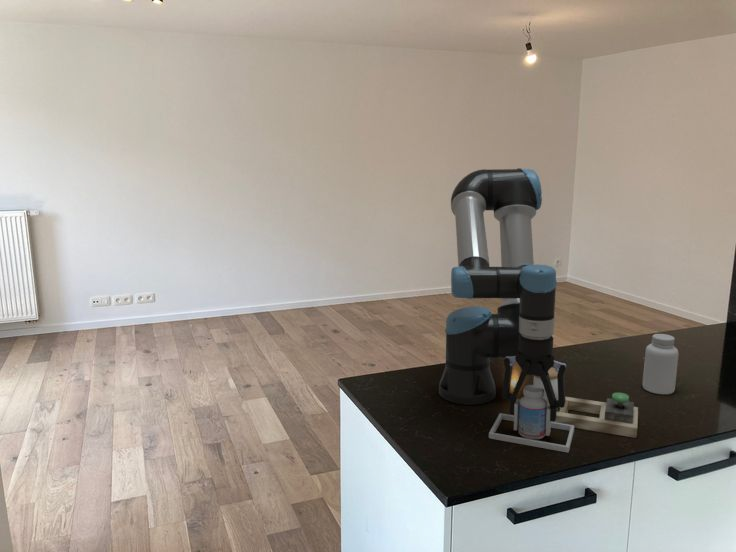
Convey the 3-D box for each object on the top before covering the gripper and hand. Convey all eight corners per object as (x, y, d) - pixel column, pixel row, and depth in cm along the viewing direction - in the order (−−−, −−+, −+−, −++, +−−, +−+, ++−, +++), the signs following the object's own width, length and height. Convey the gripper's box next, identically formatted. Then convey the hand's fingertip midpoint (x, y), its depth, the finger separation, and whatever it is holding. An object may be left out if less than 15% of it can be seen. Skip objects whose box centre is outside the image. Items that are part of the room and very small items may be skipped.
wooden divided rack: (520, 418, 144) (520, 401, 143) (528, 399, 155) (529, 384, 154) (636, 438, 134) (638, 420, 133) (637, 416, 144) (638, 399, 143)
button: (611, 408, 139) (612, 397, 138) (612, 402, 142) (612, 391, 142) (627, 410, 137) (628, 399, 137) (628, 404, 141) (629, 393, 140)
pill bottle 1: (546, 441, 133) (548, 394, 131) (518, 439, 134) (520, 393, 132) (544, 429, 139) (546, 384, 137) (517, 427, 140) (519, 382, 138)
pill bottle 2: (677, 396, 155) (682, 342, 152) (643, 393, 158) (648, 339, 155) (672, 385, 162) (677, 333, 159) (640, 382, 165) (644, 330, 162)
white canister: (530, 415, 146) (531, 373, 144) (534, 405, 152) (536, 365, 149) (555, 419, 144) (558, 376, 141) (559, 409, 149) (561, 368, 147)
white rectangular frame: (488, 438, 135) (488, 433, 135) (499, 417, 145) (499, 413, 145) (568, 452, 128) (568, 447, 128) (574, 430, 138) (574, 425, 138)
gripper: (488, 334, 132) (486, 430, 137) (580, 344, 124) (574, 445, 129) (496, 325, 139) (493, 416, 144) (583, 334, 131) (578, 430, 136)
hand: (532, 430), depth 136 cm, fingers open, 6 cm apart
